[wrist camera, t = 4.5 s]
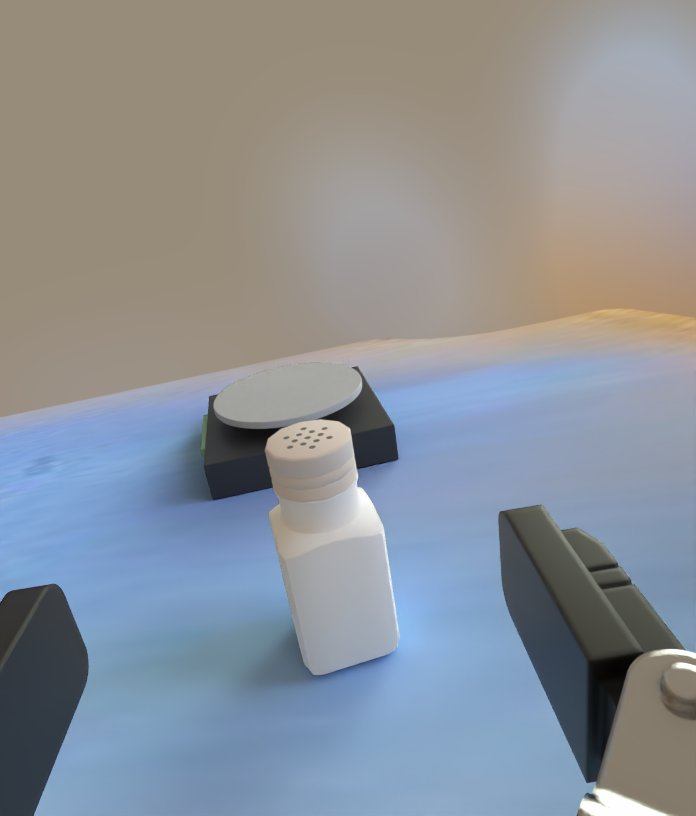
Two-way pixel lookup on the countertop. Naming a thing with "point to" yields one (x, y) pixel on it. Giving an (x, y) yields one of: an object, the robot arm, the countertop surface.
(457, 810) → the countertop surface
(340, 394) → the scale
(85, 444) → the countertop surface
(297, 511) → the salt shaker
